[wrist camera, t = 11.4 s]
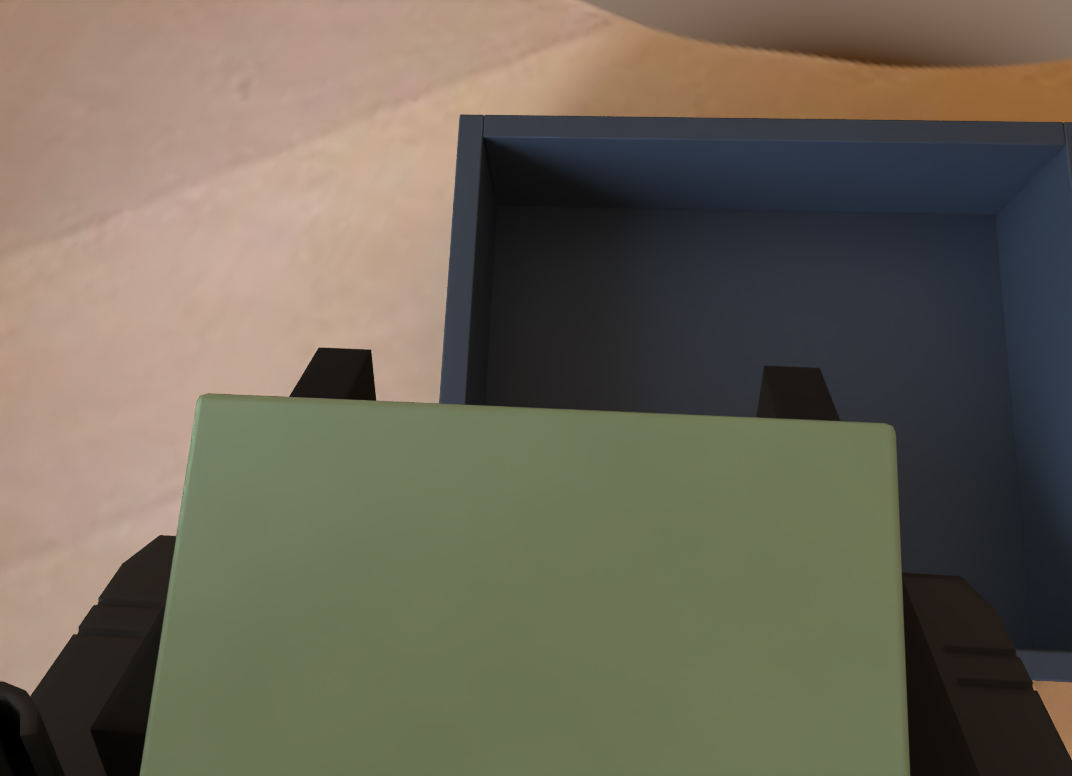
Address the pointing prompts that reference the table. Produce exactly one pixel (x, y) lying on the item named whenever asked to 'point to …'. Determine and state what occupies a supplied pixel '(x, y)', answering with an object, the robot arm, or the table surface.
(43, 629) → the table surface
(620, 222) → the bin
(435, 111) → the table surface
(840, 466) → the block
